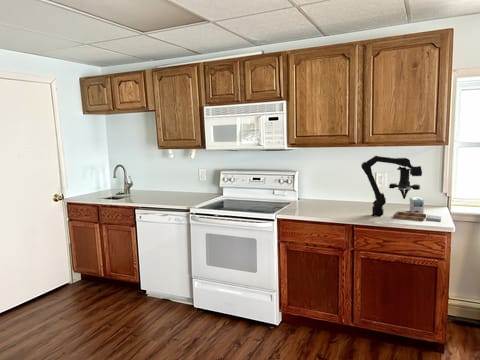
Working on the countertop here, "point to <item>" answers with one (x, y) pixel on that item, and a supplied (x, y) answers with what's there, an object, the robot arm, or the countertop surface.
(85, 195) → the countertop surface
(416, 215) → the walnut box
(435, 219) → the cover plate
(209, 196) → the countertop surface
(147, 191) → the countertop surface
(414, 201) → the light bulb box
